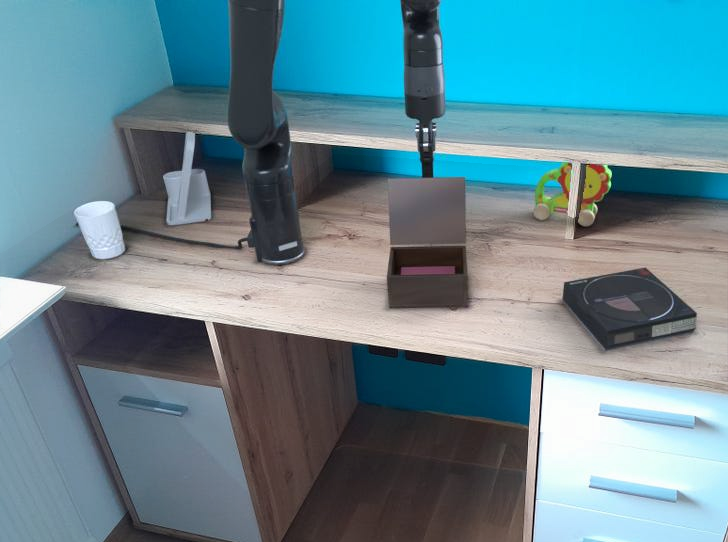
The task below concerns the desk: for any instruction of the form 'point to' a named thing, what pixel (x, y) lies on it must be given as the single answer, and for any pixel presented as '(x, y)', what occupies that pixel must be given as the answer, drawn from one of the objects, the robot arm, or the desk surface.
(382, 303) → the desk surface
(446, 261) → the walnut box
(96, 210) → the white cup
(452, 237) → the box lid
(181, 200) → the white dustpan scoop
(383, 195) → the desk surface
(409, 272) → the stepped pink block
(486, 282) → the desk surface
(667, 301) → the portable cd player
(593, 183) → the toy lion
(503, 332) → the desk surface
